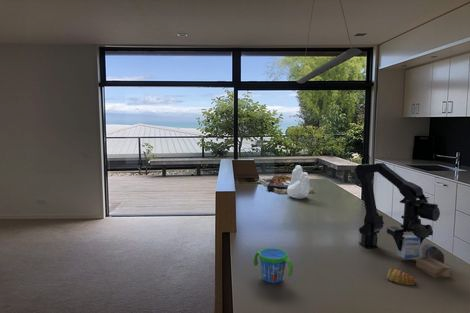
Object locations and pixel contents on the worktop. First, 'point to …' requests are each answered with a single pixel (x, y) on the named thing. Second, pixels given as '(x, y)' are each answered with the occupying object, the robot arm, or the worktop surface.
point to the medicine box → (409, 247)
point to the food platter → (279, 182)
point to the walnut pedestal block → (433, 267)
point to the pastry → (400, 277)
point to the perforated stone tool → (432, 252)
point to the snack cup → (273, 264)
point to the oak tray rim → (264, 182)
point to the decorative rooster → (298, 183)
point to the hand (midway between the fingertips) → (408, 250)
